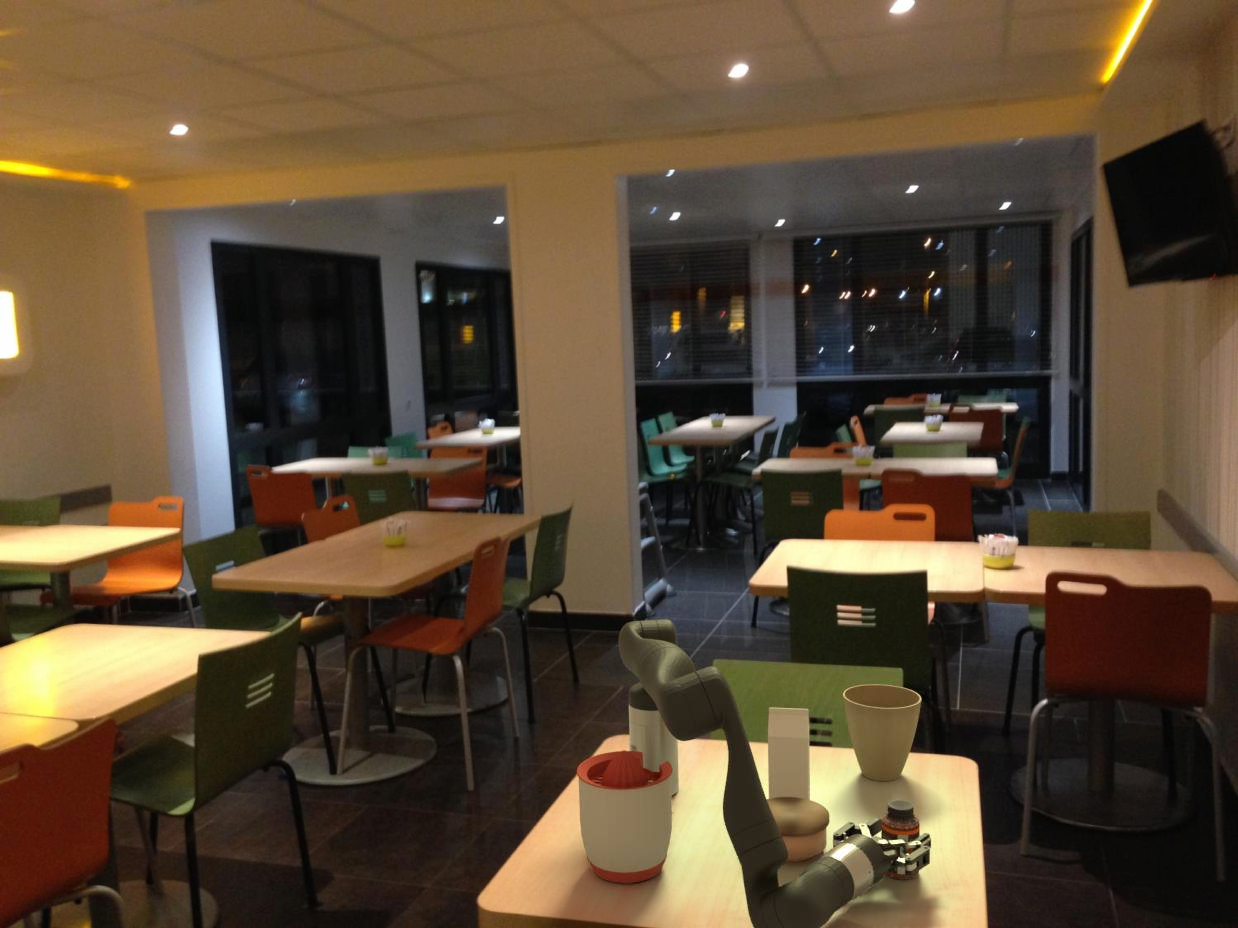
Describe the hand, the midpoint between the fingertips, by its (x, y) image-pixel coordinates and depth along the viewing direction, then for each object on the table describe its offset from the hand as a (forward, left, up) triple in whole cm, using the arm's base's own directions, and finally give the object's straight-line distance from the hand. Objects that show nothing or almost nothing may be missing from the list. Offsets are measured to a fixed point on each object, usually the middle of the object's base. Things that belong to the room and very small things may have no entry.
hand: (903, 830), depth 173 cm
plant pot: (+7, +38, -7) cm, 39 cm away
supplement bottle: (-1, -1, -7) cm, 7 cm away
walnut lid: (-17, +8, -1) cm, 19 cm away
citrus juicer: (-44, +5, -7) cm, 45 cm away
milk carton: (-14, +24, -7) cm, 29 cm away
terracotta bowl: (-17, +8, -6) cm, 20 cm away
